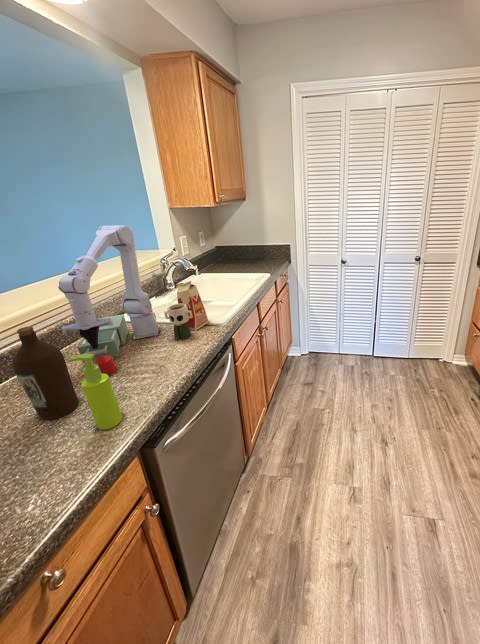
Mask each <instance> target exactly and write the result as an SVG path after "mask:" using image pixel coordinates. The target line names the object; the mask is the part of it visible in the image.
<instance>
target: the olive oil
mask: <svg viewBox="0 0 480 644" xmlns="http://www.w3.org/2000/svg"><path fill="white" fill-rule="evenodd" d="M16 333H17V334H18V338H19V340H20V343H21V346H20V347H19V349H18V351H17V352H16V353H15V354H14V357H13V359H12V370H13V372H14V374H15V376H16V378H17V380H18V381H19V383H20V385H21V386H22V388H23V390H24V392H25V394H26V395H27V398H28V399H29V401H30V403H31V404H32V407H33V408H34V410H35V412H36V414H37V416H38V417H39V419H41V420H46V421H49V420H55V419H59V418H61V417H63V416H66V415H67V414H70V413H71V412H72V411H74V410H75V409H76V408H77V407H78V405H79V398H78V396H77V393H76V390H75V387H74V384H73V381H72V378H71V374H70V372H69V369H68V365H67V362H66V359H65V355H64V353H63V352H62V351H61V350H60V349H59V348H58V347H57V346H56V345H53V344H51V343H49V342H45V341H43V340H41V339H39V338H38V335H37V332H36V331H35V330H34V327H33V326H23V327H21V328H18V329H17V330H16Z"/></svg>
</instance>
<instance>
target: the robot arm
mask: <svg viewBox="0 0 480 644" xmlns="http://www.w3.org/2000/svg"><path fill="white" fill-rule="evenodd" d="M134 239H135V238H134V232H133V230H132V229H131V228H130V227H129V226H127V225H125V224H120V225H119V224H118V225H117V224H116V225H103V224H102V225H100V226H99V227H98V228H97V229H96V231H95V238H94V240H93V241H92V244H91V246H90V247H89V249H88V251H87V253H86V255H82V256H79V257H77V258H76V260H75V263H74V265H73V266H72V267H71V268H70V269H69V270H68V273H67V274H65V275H62V276H61V278H59V281H58V286H57V288H58V290H59V291H60V292H61V293H63V295H64V296H65V298H66V299H67V301H68V304H69V306H70V309H71V312H72V315H73V317H74V320H75V323H71V324H67V325H62V327H61V332H62V334H68V333H72V332H78V331H79V333H78V334H79V336H80V337H82V338H83V340H84V339H85V340H87V341H88V343H89V344H90V345H91V346H92V348H93V349H96V348H98V346H99V345H98V332H99V327H101V326H107V325H109V326H111V325H113V319H112V318H109V319H97V315H96V313H95V310H94V307H93V304H92V300H91V298H90V295H89V292H88V291H89V290H90V288H91V278H92V276H93V275H94V274H95V272H96V270H97V269H98V268H99V264H98V260H99V259H100V258H101V257H102V255H103V254H104V253H105V251H106V250H107V249H108V248H109V247H113V248H115V249H116V250H117V251H119V256H120V263H121V268H122V273H123V280H124V281H123V282H124V288H125V293H123V295H122V296H121V300H122V302H121V310H122V312H123V313H124V314H126V315H127V317H129V321H130V324H131V327H132V331H133V336H132V340H138V339H144V338H149V337H155V336H159V324H158V321H157V316H156V314H155V311H153V312H150V311H151V309H152V310H153V305H152V302H151V299H150V296H149V294H148V293H147V292H144V291H143V290H142V285H141V278H140V272H139V265H138V259H137V253H136V252H137V251H136V246H135V240H134ZM146 293H147V294H146ZM149 299H150V300H149Z"/></svg>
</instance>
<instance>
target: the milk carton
mask: <svg viewBox="0 0 480 644" xmlns="http://www.w3.org/2000/svg"><path fill="white" fill-rule="evenodd" d="M175 285H176V286H177V289H176V297H177V304H185V305H186V306H187V311H192V316H193V318H189V320H188V321H187V324H188V326H189V329H190V331H197V330H199V329H200V328H202V327H204V326H205V325H207V324H208V323H210V321H209V317H208V315H207V312H206V308H205V306H204V303H203V300H202V298H201V295H200V293H199V290H198V288H197V285H196V284H193V283H192V280H190V281H187V282H184V283H176V284H175ZM188 316H190V313H188Z"/></svg>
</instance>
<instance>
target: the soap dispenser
mask: <svg viewBox="0 0 480 644" xmlns="http://www.w3.org/2000/svg"><path fill="white" fill-rule="evenodd" d="M94 357H95V354H80V353H79V354H76V355H72V356H71V357H70V358H69V359H68V360H67V362H69V363H72V362H76V361H82V360H83V361H84V362H83V361H82V362H83V363H84V368H83V369H82V372H83V375H84V379H83V380H82V381H81V384H80V386H81V387H82V390H83V393H84V396H85V398H86V401H87V404H88V407H89V409H90V412H91V414H92V416H93V419H94V423H95V425H96V427H97V428H98V429H99V430H109V429H112V428H114V427H116V426H117V425H119V424H120V423H121V422H122V420H123V414H122V412H121V409H120V406H119V403H118V400H117V398H116V394H115V391H114V389H113V388H114V387H113V386H112V382H111V379H110V375H109V376H108V375H107V374H101V371H100V368H99V366H98V365H97V364H95V363H94V360H93V361H92V359H93V358H94Z"/></svg>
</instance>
